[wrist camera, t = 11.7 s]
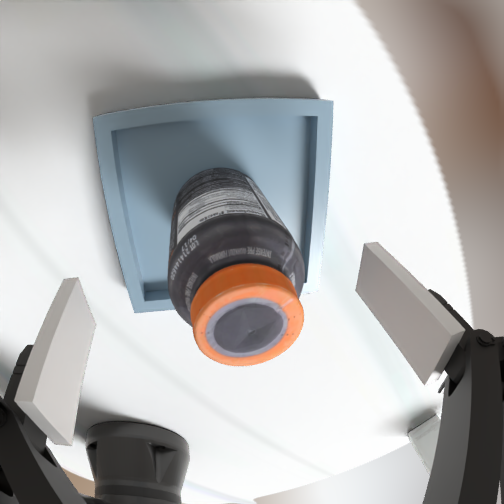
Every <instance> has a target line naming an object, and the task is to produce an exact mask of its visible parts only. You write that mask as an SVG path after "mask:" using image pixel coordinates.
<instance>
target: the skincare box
mask: <svg viewBox="0 0 504 504" xmlns="http://www.w3.org/2000/svg"><path fill="white" fill-rule="evenodd" d="M440 422H441V420H440V419H439V417H438V416H437V415H435V416H433V417H432V418H430V419H429V420H427V421H426V422H424V423H423V424H421V425H420V426H418V427H417V428H415V429H413V430H412V431H410V432H409V433H408V435H409V440H410V442H411V443H412V445H413V447H414V449H415V450H416V452H417V454H418V456H419V457H420V459H421V461H422V463H423V465H424V466H425V468H426V470H427V472H428V474H429V475H430V474H431V470H432V465H433V461H434V456H435V451H436V446H437V440H438V434H439V428H440Z"/></svg>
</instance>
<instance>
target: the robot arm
mask: <svg viewBox="0 0 504 504" xmlns="http://www.w3.org/2000/svg"><path fill="white" fill-rule="evenodd" d="M355 291H356V292H357V293H358V295H359V296H360V297H361V299H362V300H363V301H364V302H365V304H366V305H367V306H368V308H369V309H370V310H371V312H372V313H373V314H374V316H375V317H376V318H377V320H378V321H379V322H380V324H381V325H382V327H383V328H384V329H385V331H386V332H387V333H388V335H389V336H390V337H391V339H392V340H393V342H394V343H395V344H396V346H397V347H398V349H399V350H400V351H401V353H402V354H403V356H404V357H405V358H406V360H407V361H408V363H409V364H410V365H411V367H412V368H413V370H414V371H415V373H416V374H417V375H418V377H419V378H420V380H421V381H422V383H423V384H424V386H425V385H428V384H430V383H432V382H434V381H436V380H438V379H439V378H440V376H441V374H442V372H443V371H444V370H445V371H446V373H447V374H448V375H447V377H446V379H445V380H444V382H443V383H442V385H441V387H440V388H439V391H438V393H440V392H441V391H442V389H443V388H444V387H445V388H444V393H443V394H444V398H443V407H442V414H441V422H440V428H439V434H438V440H437V446H436V451H435V456H434V461H433V465H432V470H431V474H430V479H429V482H428V486H427V490H426V494H425V498H424V501H423V504H496V502H497V495H498V488H499V481H500V487H501V503H502V504H504V337H494V336H493V335H492V334H490V333H489V332H488V331H485V330H482V329H477V330H473V329H472V328H471V326H470V325H469V324H468V323H467V322H466V321H465V320H464V319H463V318H462V317H461V316H460V315H459V314H458V313H457V312H456V311H455V310H453V308H452V306H451V305H450V304H447V301H446V300H445V299H444V298H443V297H442V296H441V295H439V294H438V293H436V292H434V291H432V290H431V289H429V290H427V289H426V288H425V287H424V286H423V285H422V284H421V283H420V282H419V281H418V280H417V279H416V278H415V277H414V276H413V275H412V274H411V273H410V272H409V271H408V270H407V269H406V268H405V267H403V266H402V265H401V264H400V263H399V262H398V261H397V260H396V259H395V258H394V257H393V256H392V255H391V254H390V253H389V252H388V251H386V250H385V249H384V248H383V247H382V246H381V245H380V244H379V243H378V242H373V243H365V244H364V247H363V253H362V258H361V264H360V270H359V275H358V280H357V285H356V290H355ZM95 328H96V323H95V320H94V318H93V316H92V313H91V310H90V308H89V305H88V303H87V300H86V297H85V295H84V292H83V289H82V286H81V284H80V281H79V278H78V277H77V278H68V279H64V280H63V282H62V284H61V286H60V288H59V290H58V292H57V294H56V296H55V298H54V300H53V302H52V304H51V306H50V309H49V311H48V313H47V315H46V317H45V320H44V322H43V324H42V327H41V329H40V331H39V334H38V336H37V338H36V341H35V343H34V345H27V346H26V347H25V349H24V350H23V351H22V352H21V353H20V355H19V358H18V360H17V363H16V366H15V368H14V371H13V375H12V376H11V379H10V381H9V384H8V387H7V390H6V393H5V396H4V399H2V397H1V396H0V504H181V489H182V486H183V482H184V479H185V475H186V472H187V468H188V464H189V460H190V456H189V446H188V443H187V442H186V441H185V440H184V439H183V438H182V437H181V436H179V435H177V434H175V433H173V432H171V431H168V430H166V429H163V428H159V427H155V426H151V425H146V424H140V423H132V422H107V423H101V424H98V425H95V426H93V427H91V428H90V429H89V430H88V432H87V437H86V451H87V456H88V460H89V463H90V467H91V471H92V474H93V478H94V481H95V498H94V497H91V496H87V495H84V494H81V493H78V491H77V490H76V488H75V487H74V486H73V484H72V483H71V481H70V480H69V478H68V477H67V476H66V474H65V473H64V471H63V470H62V468H61V467H60V465H59V463H58V462H57V460H56V459H55V457H54V455H53V454H52V452H51V450H50V449H49V448H48V447H47V445H46V439H47V437H48V438H49V439H50V440H51V441H52V442H53V443H54V444H56V445H65V446H72V444H73V436H74V429H75V422H76V416H77V410H78V404H79V399H80V393H81V388H82V383H83V378H84V373H85V369H86V364H87V360H88V356H89V351H90V347H91V343H92V339H93V335H94V331H95Z"/></svg>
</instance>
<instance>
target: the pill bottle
mask: <svg viewBox="0 0 504 504" xmlns="http://www.w3.org/2000/svg"><path fill="white" fill-rule="evenodd" d="M167 280H168V292H169V295H170V298H171V301H172V304H173V306H174V308H175V309H176V311H177V312H178V314H179V315H180V316H181V317H182V318H183V319H184V320H185V321H186V322H187V323H188V324H189V325H191V326H192V327H193V334H194V338H195V341H196V343H197V345H198V347H199V349H200V350H201V351H202V352H203V353H204V354H205V355H206V356H207V357H209V358H210V359H212V360H214V361H216V362H219V363H222V364H225V365H231V366H249V365H255V364H259V363H263V362H265V361H268V360H271V359H273V358H274V357H276V356H278V355H280V354H281V353H283V352H284V351H285V350H287V349H288V348H289V347H290V346H291V345H292V344H293V343H294V341H295V340H296V339H297V337H298V336H299V334H300V332H301V330H302V327H303V322H304V312H303V307H302V305H301V303H300V301H299V297H300V295H301V292H302V289H303V285H304V280H305V266H304V260H303V257H302V254H301V251H300V249H299V247H298V245H297V244H296V242H295V241H294V239H293V237H292V235H291V234H290V232H289V230H288V229H287V228H286V226H285V225H284V223H283V222H282V220H281V219H280V217H279V216H278V215H277V213H276V212H275V210H274V209H273V207H272V206H271V205H270V203H269V202H268V200H267V199H266V197H265V196H264V194H263V193H262V192H261V190H260V189H259V187H258V186H257V185H256V184H255V182H254V181H253V180H252V179H251V178H250V177H248V176H247V175H246V174H244V173H242V172H240V171H237V170H234V169H230V168H212V169H207V170H204V171H201V172H199V173H197V174H196V175H194V176H193V177H191V178H190V179H189V180H188V181H187V182H186V183H185V184H184V185H183V186H182V187H181V189H180V190H179V192H178V194H177V196H176V199H175V202H174V206H173V214H172V221H171V233H170V245H169V260H168V277H167Z"/></svg>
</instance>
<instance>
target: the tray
mask: <svg viewBox="0 0 504 504" xmlns="http://www.w3.org/2000/svg"><path fill="white" fill-rule="evenodd" d="M93 123H94V132H95V140H96V147H97V154H98V161H99V167H100V173H101V179H102V184H103V190H104V195H105V200H106V205H107V210H108V215H109V219H110V224H111V228H112V233H113V237H114V241H115V245H116V249H117V253H118V257H119V261H120V265H121V269H122V272H123V276H124V279H125V283H126V286H127V290H128V293H129V297H130V300H131V303H132V306H133V310H134V313H142V312H153V311H164V310H175V308H174V306H173V304H172V301H171V298H170V295H169V292H168V280H167V277H168V260H169V245H170V233H171V221H172V214H173V206H174V202H175V199H176V196H177V194H178V192H179V190H180V189H181V187H182V186H183V185H184V184H185V183H186V182H187V181H188V180H189V179H190V178H191V177H193V176H194V175H196V174H197V173H199V172H201V171H204V170H207V169H212V168H230V169H234V170H237V171H240V172H242V173H244V174H246V175H247V176H248V177H250V178H251V179H252V180H253V181H254V182H255V184H256V185H257V186H258V187H259V189H260V190H261V192H262V193H263V194H264V196H265V197H266V199H267V200H268V202H269V203H270V205H271V206H272V207H273V209H274V210H275V212H276V213H277V215H278V216H279V217H280V219H281V220H282V222H283V223H284V225H285V226H286V228H287V229H288V230H289V232H290V234H291V235H292V237H293V239H294V241H295V242H296V244H297V245H298V247H299V249H300V251H301V254H302V257H303V260H304V266H305V280H304V285H303V289H302V292H301V294H304V293H311V292H318V287H319V279H320V271H321V263H322V254H323V245H324V236H325V226H326V215H327V204H328V192H329V179H330V164H331V147H332V127H333V101H330V100H323V99H308V98H234V99H215V100H201V101H190V102H179V103H170V104H162V105H154V106H147V107H140V108H134V109H128V110H122V111H116V112H111V113H106V114H101V115H98V116H95V117H93Z"/></svg>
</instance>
